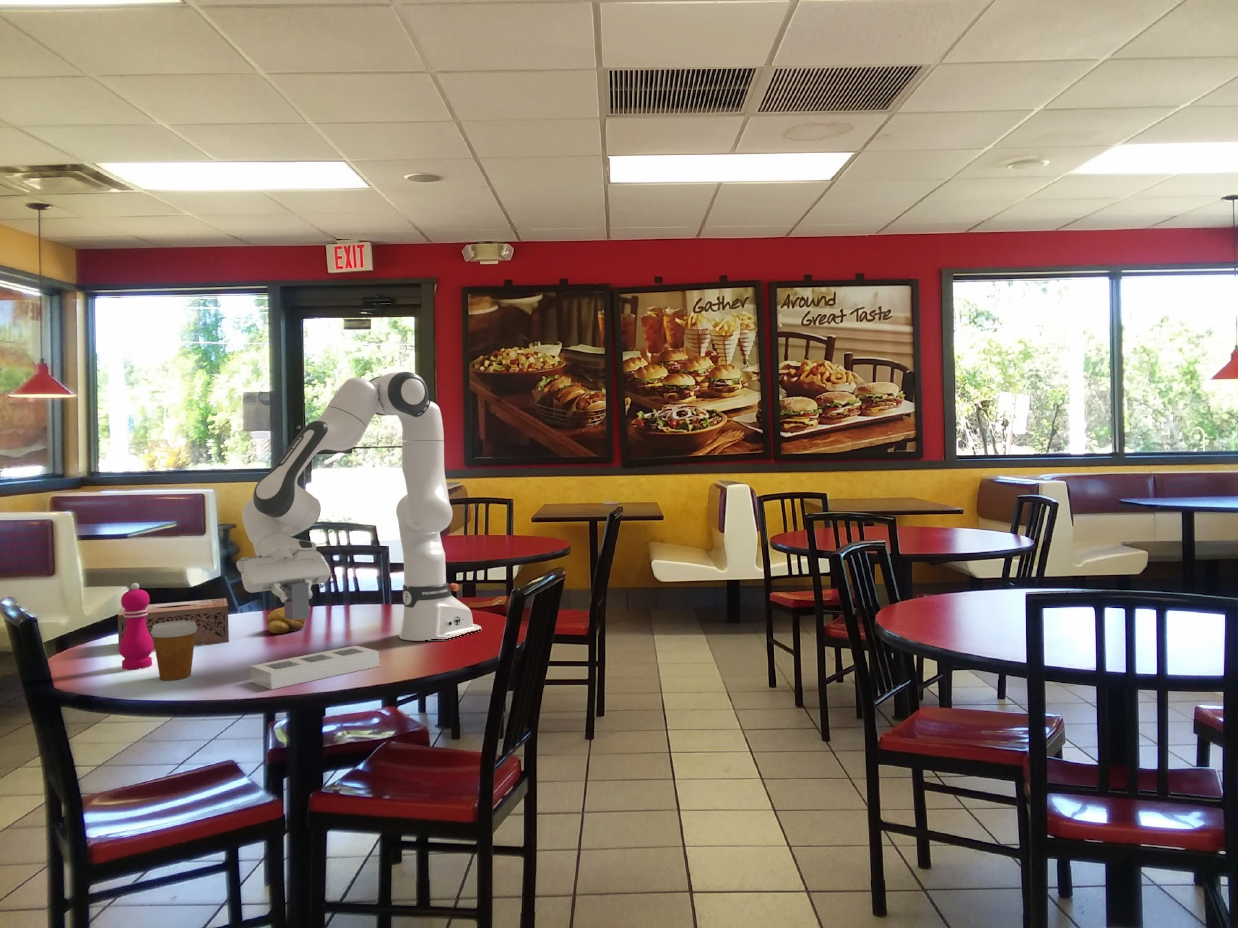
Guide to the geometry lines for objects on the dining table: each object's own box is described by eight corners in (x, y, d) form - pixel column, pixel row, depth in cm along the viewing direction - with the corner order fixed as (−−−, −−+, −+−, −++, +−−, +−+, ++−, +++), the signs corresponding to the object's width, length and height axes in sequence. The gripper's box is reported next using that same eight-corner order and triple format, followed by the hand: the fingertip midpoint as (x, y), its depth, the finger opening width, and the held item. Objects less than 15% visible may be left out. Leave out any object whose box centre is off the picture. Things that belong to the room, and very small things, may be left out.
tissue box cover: (226, 633, 252) (226, 598, 251) (228, 642, 239) (227, 605, 238) (122, 643, 240) (121, 606, 240) (118, 654, 227) (117, 615, 227)
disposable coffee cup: (166, 671, 206) (164, 620, 206) (206, 671, 206) (205, 619, 206) (142, 682, 197) (141, 628, 197) (185, 682, 196) (183, 628, 196)
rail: (356, 659, 215) (356, 645, 215) (379, 666, 208) (378, 651, 208) (250, 681, 196) (250, 665, 196) (271, 689, 189) (271, 672, 189)
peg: (301, 615, 210) (300, 581, 210) (309, 617, 207) (308, 582, 207) (284, 617, 207) (283, 583, 207) (292, 619, 205) (291, 585, 204)
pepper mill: (139, 670, 208) (137, 585, 208) (112, 669, 209) (110, 585, 209) (161, 663, 215) (158, 580, 215) (135, 662, 216) (132, 580, 216)
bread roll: (283, 636, 245) (282, 607, 245) (254, 634, 248) (254, 606, 248) (314, 627, 257) (313, 599, 257) (286, 625, 260) (285, 598, 260)
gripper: (237, 549, 204) (257, 596, 198) (320, 541, 219) (342, 584, 213) (230, 567, 208) (249, 614, 201) (312, 558, 222) (333, 601, 216)
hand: (297, 599), depth 207 cm, fingers closed on peg, 4 cm apart
